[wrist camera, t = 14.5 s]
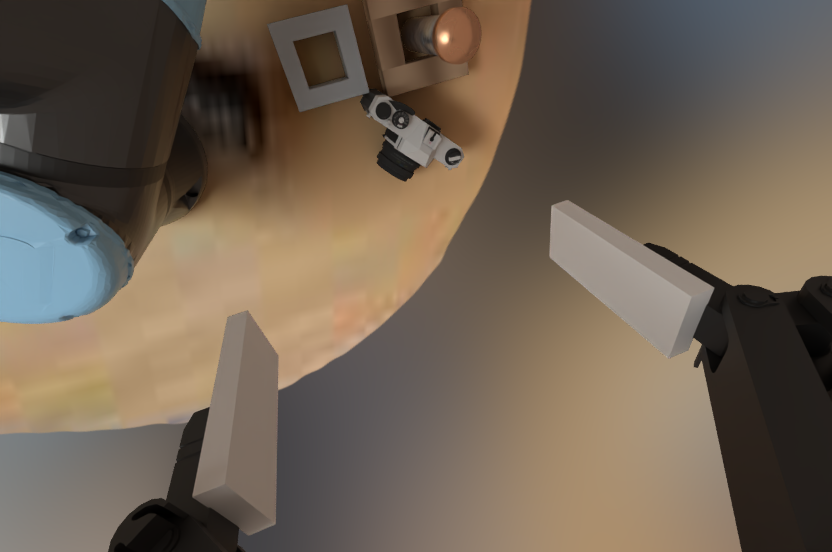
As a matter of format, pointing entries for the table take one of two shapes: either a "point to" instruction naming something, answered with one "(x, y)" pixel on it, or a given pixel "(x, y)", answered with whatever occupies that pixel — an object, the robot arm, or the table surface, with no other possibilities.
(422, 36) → the lock pin
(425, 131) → the camera
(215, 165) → the table surface
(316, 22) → the plate
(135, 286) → the table surface
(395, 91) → the dock block
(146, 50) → the robot arm
